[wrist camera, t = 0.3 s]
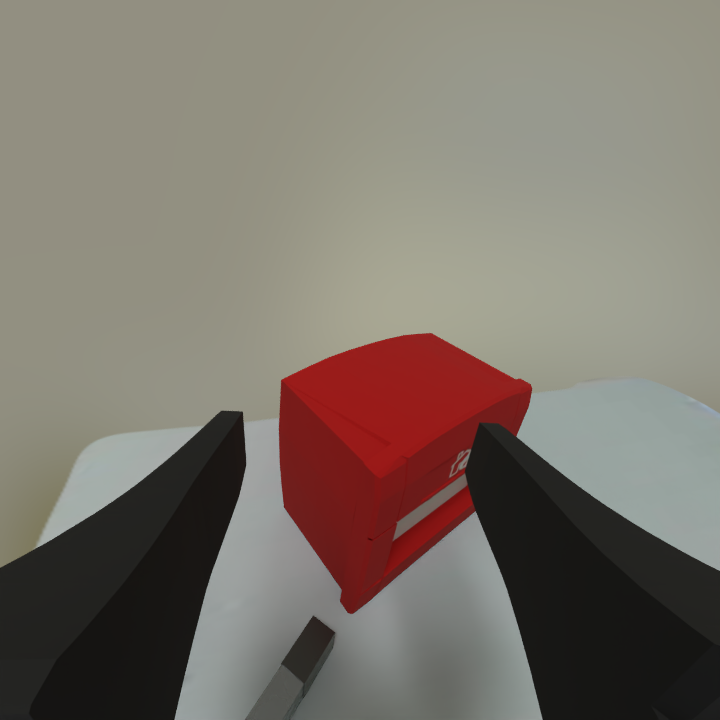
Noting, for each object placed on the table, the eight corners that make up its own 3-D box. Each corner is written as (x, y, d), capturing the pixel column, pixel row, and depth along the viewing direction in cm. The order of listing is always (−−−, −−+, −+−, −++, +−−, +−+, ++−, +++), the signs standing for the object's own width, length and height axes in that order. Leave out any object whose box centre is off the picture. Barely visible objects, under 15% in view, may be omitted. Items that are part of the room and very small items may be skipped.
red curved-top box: (353, 622, 26) (386, 471, 18) (278, 511, 32) (278, 368, 25) (485, 508, 35) (543, 379, 27) (406, 441, 42) (434, 323, 34)
